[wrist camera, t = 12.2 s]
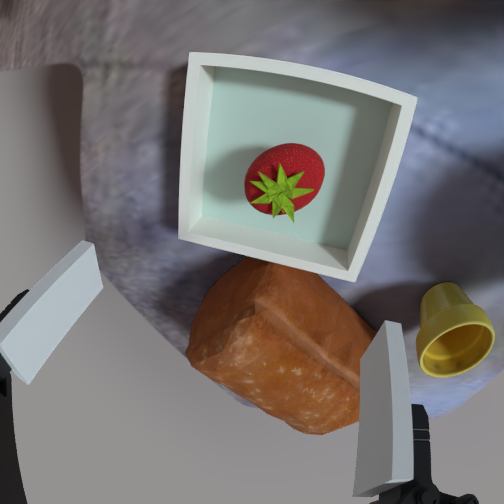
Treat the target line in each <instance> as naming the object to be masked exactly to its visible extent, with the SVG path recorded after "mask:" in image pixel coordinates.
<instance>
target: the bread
mask: <svg viewBox="0 0 504 504" xmlns="http://www.w3.org/2000/svg"><path fill="white" fill-rule="evenodd" d="M376 334H377V332H376V331H375V330H374V329H372V328H371V327H370V326H369V325H368V324H367V323H366V322H365V321H364V320H363V318H362V317H361V316H360V315H359V314H358V313H357V312H356V311H355V310H354V309H353V308H352V307H351V306H350V305H349V304H348V303H347V302H346V301H345V300H344V299H343V298H342V297H341V296H340V295H339V294H338V293H336V292H335V291H334V290H333V289H332V288H331V287H330V286H329V285H328V284H327V283H326V282H325V281H324V280H323V279H322V278H321V277H320V276H319V275H318V274H317V273H314V272H310V271H306V270H302V269H298V268H294V267H290V266H286V265H282V264H278V263H274V262H270V261H266V260H262V259H258V258H254V257H250V256H247V257H246V258H244V259H243V260H241V261H240V262H239V263H238V264H236V265H235V266H234V267H233V268H231V269H230V270H229V271H228V272H227V273H225V274H224V275H223V276H222V277H221V278H220V279H219V280H218V281H217V282H216V283H215V284H214V285H213V286H212V288H211V289H210V290H209V291H208V292H207V293H206V294H205V296H204V298H203V300H202V303H201V305H200V307H199V309H198V311H197V314H196V316H195V318H194V320H193V322H192V326H191V333H190V340H189V345H188V347H187V349H186V352H185V353H186V355H187V357H188V360H189V362H190V364H191V366H192V367H193V368H195V369H196V370H198V371H199V372H201V373H202V374H204V375H205V376H207V377H208V378H210V379H211V380H213V381H215V382H217V383H219V384H222V385H224V386H225V387H227V388H228V389H229V390H231V391H232V392H234V393H235V394H237V395H238V396H240V397H242V398H244V399H246V400H248V401H249V402H251V403H253V404H254V405H256V406H257V407H259V408H260V409H261V410H263V411H264V412H266V413H267V414H269V415H271V416H274V417H276V418H278V419H281V420H283V421H285V422H286V423H287V424H288V425H290V426H291V427H292V428H294V429H296V430H298V431H300V432H302V433H305V434H317V435H319V434H320V435H323V434H326V433H329V432H332V431H334V430H337V429H340V428H343V427H345V426H348V425H350V424H353V423H355V422H358V421H359V410H360V359H361V357H362V356H363V354H364V353H365V351H366V350H367V348H368V347H369V345H370V344H371V342H372V341H373V339H374V337H375V336H376Z"/></svg>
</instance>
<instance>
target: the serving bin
mask: <svg viewBox="0 0 504 504" xmlns="http://www.w3.org/2000/svg"><path fill="white" fill-rule="evenodd" d="M417 98H418V97H415V96H412V95H410V94H407V93H404V92H401V91H399V90H396V89H393V88H390V87H387V86H384V85H381V84H378V83H374V82H371V81H368V80H364V79H361V78H357V77H354V76H350V75H346V74H342V73H338V72H334V71H330V70H326V69H321V68H317V67H312V66H307V65H302V64H297V63H291V62H286V61H279V60H273V59H266V58H258V57H250V56H241V55H230V54H217V53H198V52H190V54H189V62H188V71H187V80H186V90H185V101H184V113H183V127H182V142H181V160H180V183H179V228H178V239H182V240H186V241H190V242H194V243H198V244H202V245H206V246H210V247H214V248H218V249H222V250H226V251H230V252H234V253H238V254H242V255H246V256H250V257H254V258H258V259H262V260H266V261H270V262H274V263H278V264H282V265H286V266H290V267H294V268H298V269H302V270H306V271H310V272H314V273H318V274H322V275H326V276H330V277H334V278H339V279H343V280H347V281H351V282H355V281H356V279H357V276H358V274H359V272H360V269H361V267H362V265H363V262H364V260H365V257H366V255H367V253H368V250H369V248H370V245H371V243H372V240H373V237H374V235H375V232H376V230H377V227H378V224H379V222H380V219H381V216H382V214H383V211H384V208H385V205H386V203H387V200H388V197H389V194H390V191H391V188H392V185H393V182H394V179H395V176H396V173H397V170H398V167H399V164H400V160H401V157H402V154H403V150H404V147H405V144H406V140H407V137H408V133H409V129H410V126H411V122H412V118H413V114H414V111H415V107H416V103H417ZM285 143H297V144H303V145H305V146H308V147H310V148H312V149H313V150H315V151H316V152H317V153H318V154H319V155H320V156H321V158H322V160H323V162H324V167H325V176H324V180H323V183H322V186H321V188H320V190H319V192H318V194H317V195H316V197H315V198H314V199H313V200H312V201H311V202H310V203H309V204H308V205H306V206H305V207H303V208H302V209H300V210H298V211H296V212H294V223H293V222H292V220H291V219H290V217H289V216H288V215H287V214H285V215H276V216H275V217H274V218H273V215H268V214H264V213H262V212H259V211H258V210H256V209H254V208H253V207H252V206H251V205H250V203H249V202H248V200H247V198H246V195H245V187H244V181H245V176H246V173H247V170H248V168H249V167H250V165H251V163H252V162H253V161H254V160H255V159H256V158H257V157H258V156H259V155H260V154H262V153H263V152H264V151H266V150H268V149H270V148H272V147H275V146H277V145H280V144H285Z"/></svg>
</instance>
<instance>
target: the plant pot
mask: <svg viewBox="0 0 504 504" xmlns="http://www.w3.org/2000/svg"><path fill="white" fill-rule="evenodd" d="M494 339H495V333H494V330H493V327H492V325H491V323H490V320H489V318H488V317H487V315H486V313H485V311H484V310H483V309H482V308H480V307H479V306H477V305H474V304H473V303H472V301H471V300H470V299H469V298H468V297H467V295H466V294H465V293H464V292H463V291H462V289H461V288H460V287H459V286H458V285H457V284H455V283H451V282H444V283H440V284H437V285H435V286H433V287H432V288H430V289H429V290H428V291H427V292H426V293H425V294H424V296H423V298H422V300H421V304H420V330H419V332H418V335H417V338H416V350H417V357H418V362H419V366H420V368H421V370H422V371H423V372H424V373H426V374H427V375H430V376H433V377H451V376H455V375H458V374H461V373H464V372H466V371H468V370H470V369H471V368H473V367H475V366H476V365H477V364H479V363H480V362H481V361H482V360H483V359H484V358H485V357H486V356H487V354H488V353H489V352H490V350H491V348H492V346H493V343H494Z"/></svg>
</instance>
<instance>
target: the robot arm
mask: <svg viewBox="0 0 504 504" xmlns="http://www.w3.org/2000/svg"><path fill="white" fill-rule="evenodd" d="M102 288H103V285H102V281H101V276H100V272H99V267H98V262H97V257H96V252H95V247H94V244H93V243H90V242H87V241H83V240H82V241H81V242H80V243H78V244H77V245H76V246H75V247H74V248H73V249H72V250H71V251H70V252H69V253H67V254H66V255H65V257H63V258H62V259H61V260H60V261H59V262H58V263H57V264H56V265H55V266H54V267H53V268H52V269H51V270H50V271H49V272H48V273H47V274H46V275H45V276H44V277H42V279H41V280H40V281H38V283H37V284H36V285H35V286H34V287H33V288H32V289H31V290H28V289H27V290H25V291H23V292H22V293H20V294H18V295H17V296H16V297H15V298H14V299H13V300H12V301H11V304H9V305H8V306H7V307H6V308H5V310H4V311H2V313H1V314H0V504H27V500H26V496H25V492H24V488H23V483H22V478H21V473H20V468H19V463H18V457H17V449H16V443H15V434H14V423H13V410H12V387H11V374H10V373H9V372H10V371H11V369H12V370H13V371H14V373H15V374H16V375H17V376H18V377H19V378H20V379H21V380H23V381H24V382H25V383H27V384H28V385H29V384H30V382H31V381H32V379H33V378H34V377H35V375H36V374H37V372H38V371H39V369H40V368H41V367H42V365H43V364H44V362H45V361H46V360H47V358H48V357H49V356H50V354H51V353H52V351H53V350H54V349H55V348H56V346H57V345H58V344H59V342H60V341H61V339H62V338H63V337H64V336H65V334H66V333H67V332H68V330H69V329H70V328H71V327H72V325H73V324H74V323H75V322H76V320H77V319H78V318H79V316H80V315H81V314H82V313H83V311H84V310H85V309H86V308H87V307H88V305H89V304H90V303H91V301H93V299H94V298H95V297H96V296H97V294H98V293H99V292H100V291H101V290H102ZM429 440H430V435H429V422H428V415H427V413H426V411H425V409H424V406H423V405H419V404H411V397H410V386H409V377H408V368H407V360H406V353H405V346H404V339H403V333H402V327H401V323H396V322H391V321H387V320H385V321H384V323H383V324H382V326H381V328H380V329H379V331H378V333H377V334H376V336H375V337H374V339H373V341H372V342H371V344H370V345H369V347H368V348H367V350H366V351H365V353H364V354H363V356H362V357H361V359H360V410H359V432H358V448H357V461H356V471H355V482H354V490H353V496H354V497H373V496H375V495H378V494H379V500H377V501H374V502H371V503H369V504H479V502H478V500H477V498H476V497H475V496H474V495H473V494H466V495H463V496H461V497H456V496H452V495H448V494H445V493H442V492H440V491H439V490H438V488H437V487H436V486H435V485H434V484H433V482H432V478H431V452H430V442H429Z"/></svg>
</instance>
